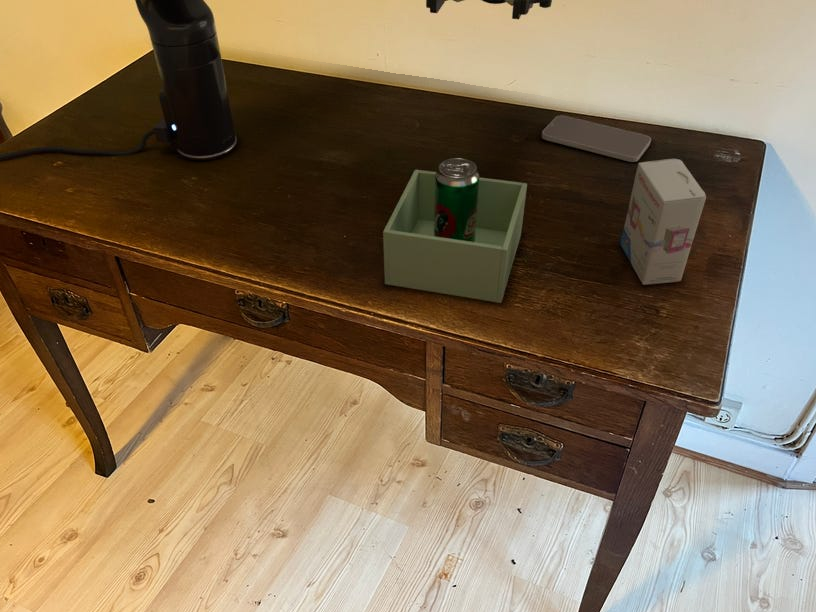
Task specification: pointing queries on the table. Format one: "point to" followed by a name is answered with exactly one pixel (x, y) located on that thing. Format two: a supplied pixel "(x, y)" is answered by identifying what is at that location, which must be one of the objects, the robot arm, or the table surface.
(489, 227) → the open storage box
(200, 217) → the table surface
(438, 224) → the soda can
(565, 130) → the smartphone
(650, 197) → the ink box
